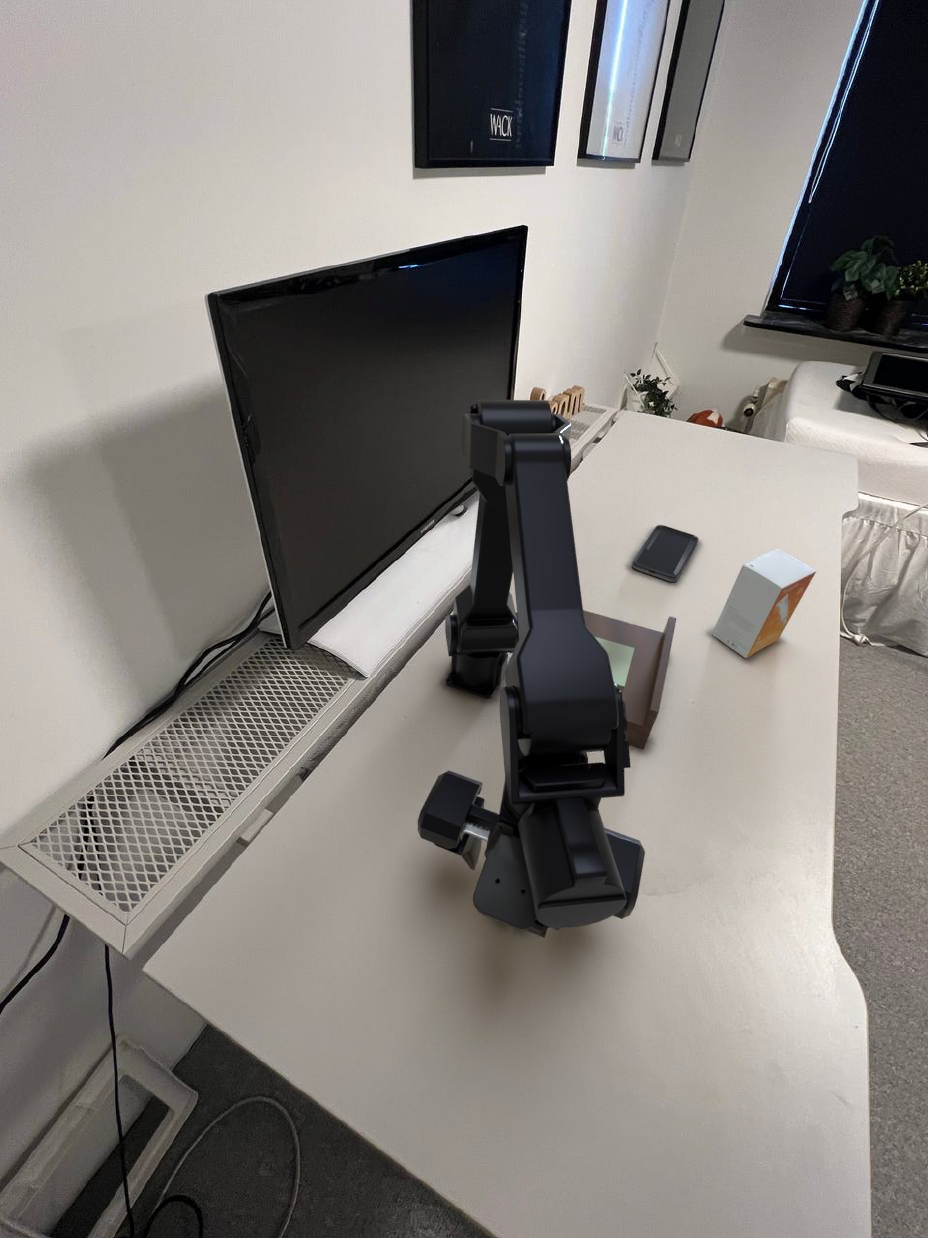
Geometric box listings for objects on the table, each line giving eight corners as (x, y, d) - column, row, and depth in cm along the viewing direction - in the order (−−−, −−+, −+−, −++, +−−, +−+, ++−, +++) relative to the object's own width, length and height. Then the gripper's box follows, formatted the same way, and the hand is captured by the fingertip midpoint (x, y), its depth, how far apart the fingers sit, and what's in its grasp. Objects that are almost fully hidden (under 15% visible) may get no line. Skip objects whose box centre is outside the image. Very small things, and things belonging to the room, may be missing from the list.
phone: (700, 536, 107) (677, 578, 97) (698, 542, 108) (675, 583, 98) (657, 523, 110) (630, 562, 100) (655, 528, 111) (629, 567, 101)
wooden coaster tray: (533, 713, 76) (540, 675, 71) (567, 627, 88) (576, 590, 84) (643, 749, 72) (658, 712, 68) (662, 654, 85) (676, 617, 80)
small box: (746, 660, 85) (782, 588, 76) (710, 634, 89) (741, 563, 80) (779, 640, 89) (818, 570, 80) (744, 616, 92) (777, 547, 84)
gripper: (384, 836, 43) (391, 925, 53) (645, 943, 38) (597, 1018, 48) (445, 724, 51) (440, 820, 61) (667, 801, 46) (621, 891, 56)
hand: (518, 883), depth 56 cm, fingers open, 9 cm apart
